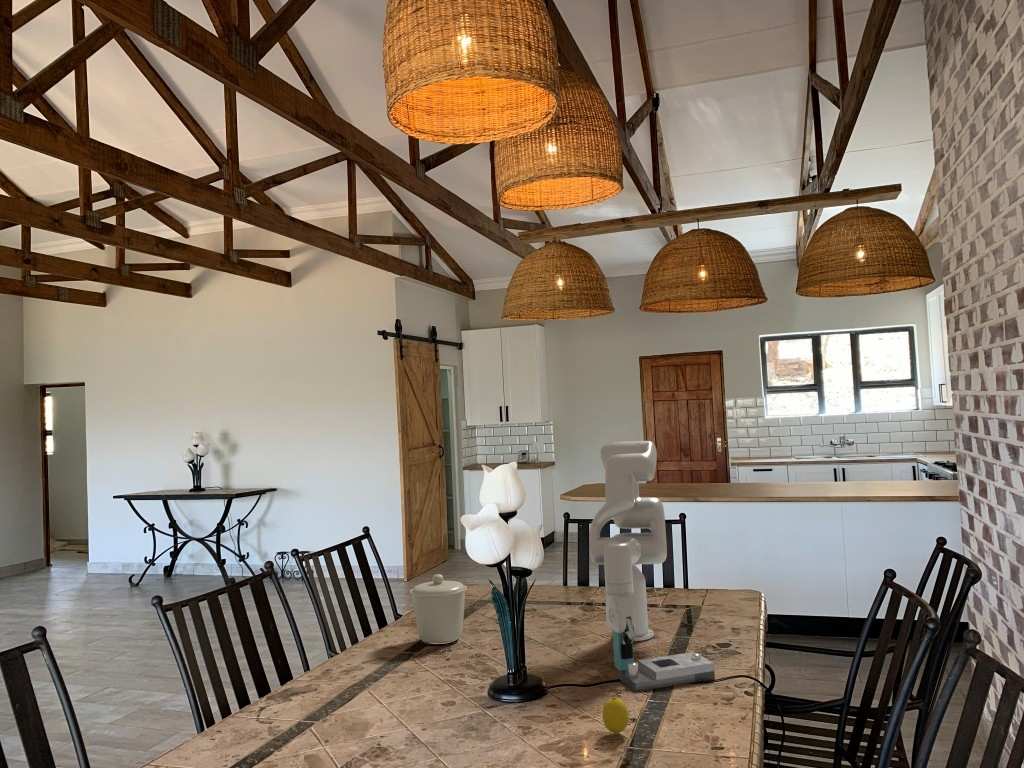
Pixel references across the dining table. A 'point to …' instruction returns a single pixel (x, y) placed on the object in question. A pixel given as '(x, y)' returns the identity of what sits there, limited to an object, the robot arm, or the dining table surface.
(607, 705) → the lemon
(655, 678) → the grey slotted base
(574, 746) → the dining table surface
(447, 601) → the canister
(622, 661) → the pin
